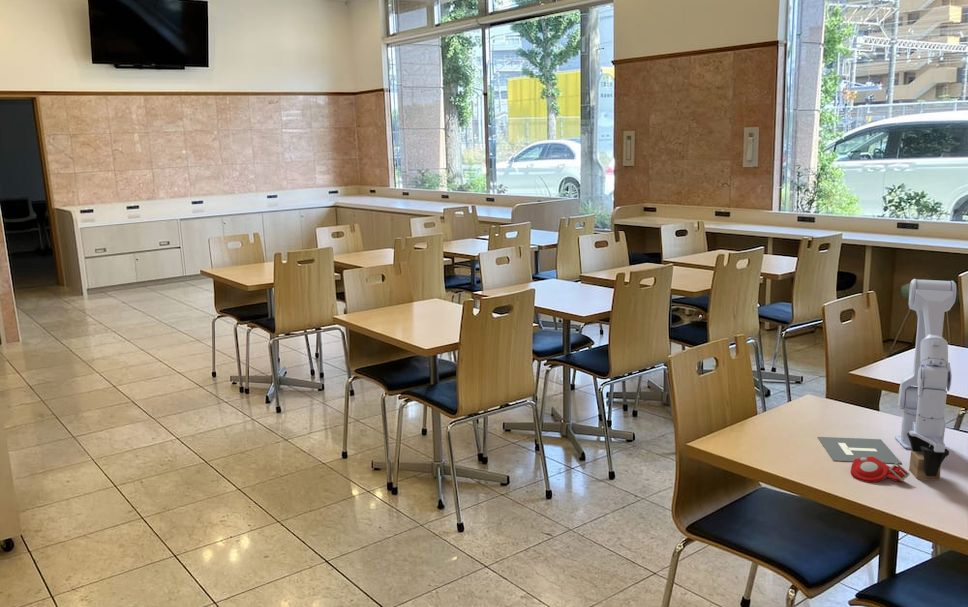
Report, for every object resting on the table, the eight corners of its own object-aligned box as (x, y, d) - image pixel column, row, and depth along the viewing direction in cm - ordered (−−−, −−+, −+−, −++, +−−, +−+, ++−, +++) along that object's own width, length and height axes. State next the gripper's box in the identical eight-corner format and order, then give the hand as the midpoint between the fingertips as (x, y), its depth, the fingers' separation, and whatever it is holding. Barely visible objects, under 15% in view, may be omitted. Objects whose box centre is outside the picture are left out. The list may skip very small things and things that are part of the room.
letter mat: (880, 439, 213) (880, 439, 213) (901, 464, 198) (901, 463, 198) (817, 437, 216) (817, 436, 215) (833, 461, 200) (833, 460, 200)
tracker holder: (856, 479, 187) (843, 454, 196) (858, 494, 189) (845, 468, 198) (911, 471, 185) (896, 445, 194) (913, 486, 186) (897, 460, 195)
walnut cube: (931, 471, 193) (933, 452, 192) (939, 480, 189) (941, 460, 188) (909, 470, 194) (911, 451, 193) (916, 479, 189) (918, 459, 188)
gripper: (901, 404, 196) (896, 456, 199) (923, 425, 182) (917, 481, 185) (932, 405, 195) (926, 457, 198) (957, 426, 181) (950, 482, 184)
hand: (924, 469), depth 191 cm, fingers open, 7 cm apart
